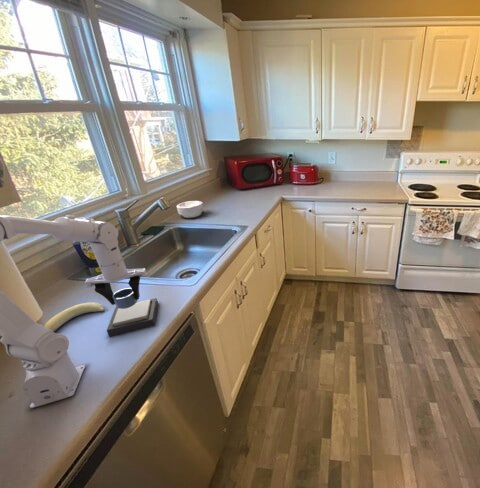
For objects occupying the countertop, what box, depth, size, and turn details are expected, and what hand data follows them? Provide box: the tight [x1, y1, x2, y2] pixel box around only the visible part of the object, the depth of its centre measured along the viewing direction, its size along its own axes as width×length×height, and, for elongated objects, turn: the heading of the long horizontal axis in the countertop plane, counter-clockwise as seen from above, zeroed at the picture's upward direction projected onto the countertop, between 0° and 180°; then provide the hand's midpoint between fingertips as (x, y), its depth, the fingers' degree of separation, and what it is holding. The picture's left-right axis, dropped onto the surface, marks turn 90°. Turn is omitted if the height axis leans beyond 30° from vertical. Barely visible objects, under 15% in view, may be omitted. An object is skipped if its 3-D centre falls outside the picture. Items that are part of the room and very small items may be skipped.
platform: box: [113, 299, 151, 326], centre depth 89 cm, size 9×9×1 cm
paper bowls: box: [176, 200, 205, 219], centre depth 176 cm, size 15×15×8 cm
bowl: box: [112, 287, 138, 309], centre depth 85 cm, size 6×6×4 cm
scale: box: [106, 297, 159, 338], centre depth 90 cm, size 12×12×2 cm
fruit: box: [43, 301, 106, 333], centre depth 90 cm, size 7×15×3 cm, turn 145°
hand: (126, 300), depth 85 cm, fingers closed on bowl, 5 cm apart
